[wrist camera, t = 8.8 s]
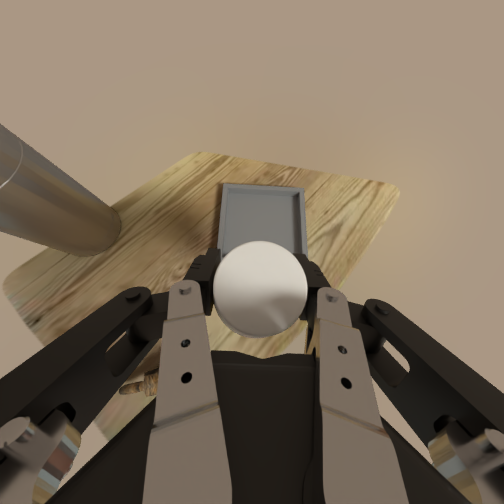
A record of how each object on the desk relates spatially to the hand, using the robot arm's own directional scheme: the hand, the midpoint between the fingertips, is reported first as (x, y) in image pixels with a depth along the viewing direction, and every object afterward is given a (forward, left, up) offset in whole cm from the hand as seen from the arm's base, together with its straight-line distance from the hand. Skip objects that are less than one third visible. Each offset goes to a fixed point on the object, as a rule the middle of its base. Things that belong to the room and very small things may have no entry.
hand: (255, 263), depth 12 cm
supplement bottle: (0, -2, -4) cm, 5 cm away
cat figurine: (-12, -12, -17) cm, 24 cm away
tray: (+2, +11, -17) cm, 20 cm away
